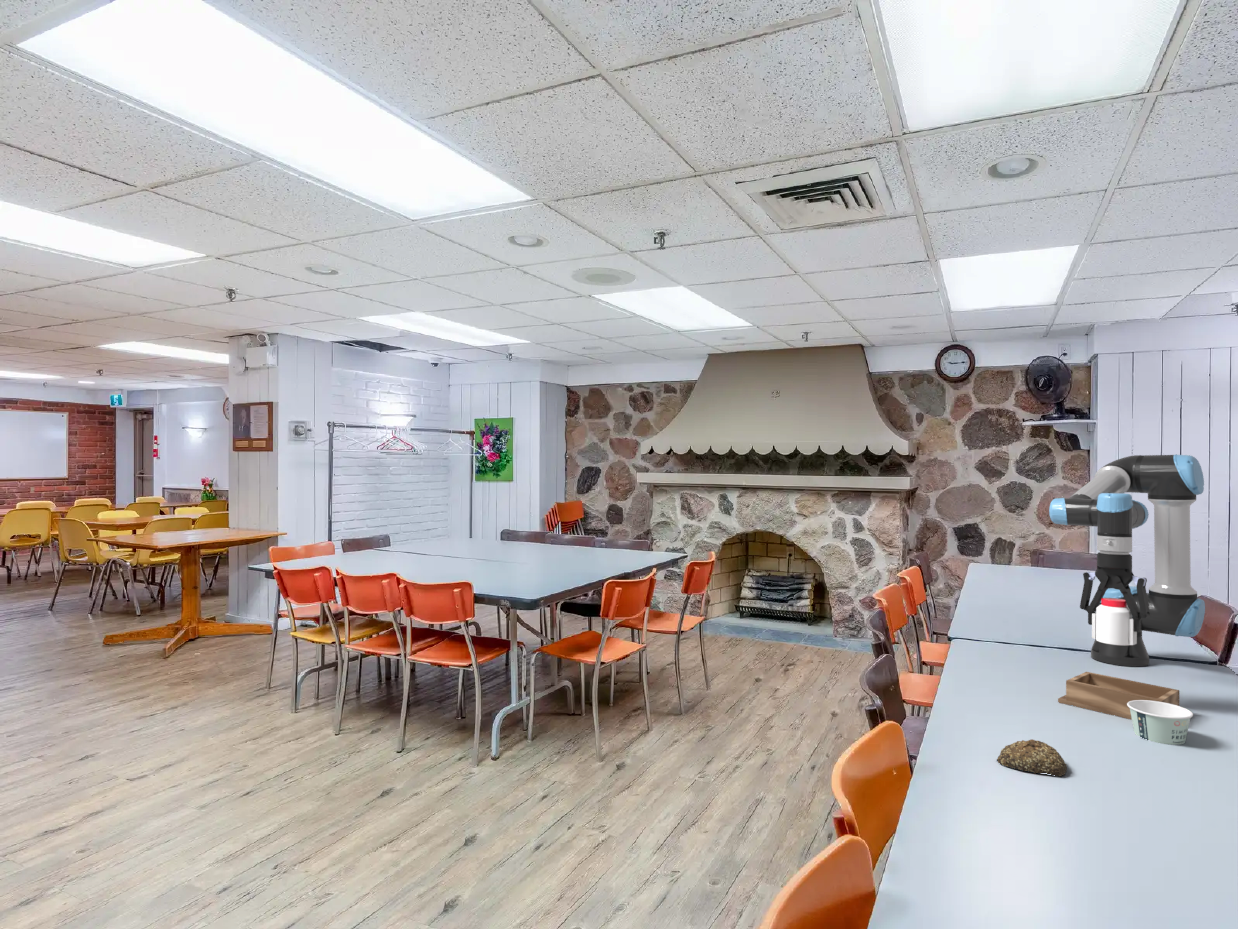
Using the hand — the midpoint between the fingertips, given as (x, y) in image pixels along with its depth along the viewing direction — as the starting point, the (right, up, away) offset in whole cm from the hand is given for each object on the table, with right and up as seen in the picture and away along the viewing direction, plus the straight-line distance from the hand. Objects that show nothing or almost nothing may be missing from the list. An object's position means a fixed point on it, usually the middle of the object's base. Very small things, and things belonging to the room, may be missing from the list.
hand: (1113, 641), depth 187 cm
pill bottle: (0, 0, 0) cm, 0 cm away
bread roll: (-43, -16, -38) cm, 59 cm away
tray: (-1, -16, -5) cm, 17 cm away
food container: (-6, -16, -23) cm, 29 cm away
